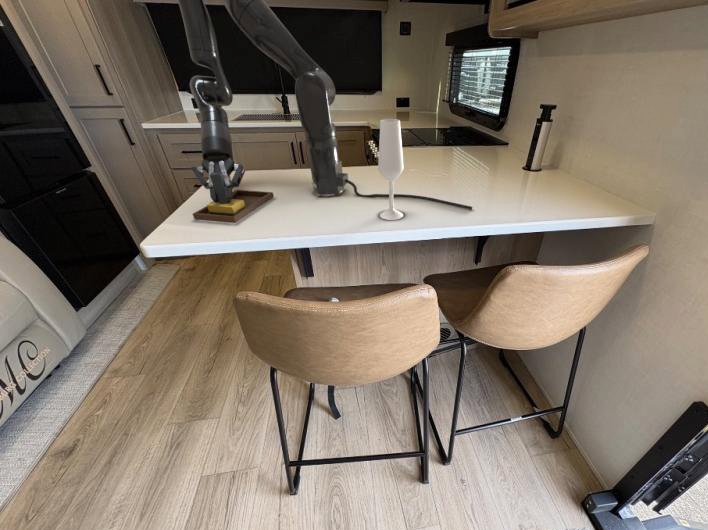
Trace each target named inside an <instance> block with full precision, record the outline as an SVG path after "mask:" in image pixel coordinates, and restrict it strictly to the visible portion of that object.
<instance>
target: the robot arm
mask: <svg viewBox="0 0 708 530" xmlns="http://www.w3.org/2000/svg"><path fill="white" fill-rule="evenodd" d="M221 1H222V4H223V5H224V7H225V9H226V11H227V13H228V14H229V16H230V17H231V19H232V20H233V22H234V23H235V24H236V25H237V27H238V28H239V29H240V30H241V32H242V33H243V34H244V36H246V37H247V38H248V39H249V41H250V42H251V43H252V44H253V45H254V46H255V47H256V48H257V49H259V51H261V52H262V53H264V54H265V55H266V56H268V57H269V58H270V59H272V60H273V61H274V62H276V63H277V64H279V66H281V67H282V68H284V69H285V70H286V71H287V72H288V73H289V74H290V75H291V77H293V79H294V80H295V82H294V83H295V84H294V93H295V95H294V96H295V101H296V107H297V112H298V116H299V121H300V125H301V127H302V129H303V131H304V135H305V142H306V143H305V144H306V148H307V155H308V162H309V167H310V174H311V180H312V182H311V186H312V187H313V194H314V195H317V196H319V197H335V196H336V197H338V196H340V195H341V194H342V193H343V192H344V191H345V187H346V185H347V184H349V185H350V186H352V187H353V192H354V194H355V195H356V196H357V197H359V198H361V197H362V198H389V193H373V194H372V193H371V194H361V193H359V192H358V187H357V185H356V184H355V183H354V182H352V181H351V180H349V174H348V173H347V172H343V163H342V160H340V156H339V147H338V146H339V145H338V138H337V128H336V125H335V124H334V122H333V120H332V119H331V114H330V113H331V112H330V106H331V105H333V103H334V102H335V99H336V87H335V84H334V82H333V80H332V77H330V76H329V74H327V72H325V70H324V69H323V68H322V67H320V66H319V64H318V63H316V61H315V60H314V59H312V58H311V57H310V56H309V54H308V53H307V52H306V51H305V50H304V49H303V48H302V47H301V46H300V44H299V43H298V41H297V40H296V39H295V37H293V35H292V33H290V31H289V30H288V29H287V27H285V25H284V24H283V23H282V22H281V20H280V19H279V18H278V17H277V14H275V13H274V11H273V10H272V9H271V8H270V7H269V5H268V4H267V3H266V2H265V1H264V0H221ZM177 4H178V6H179V10H180V13H181V17H182V21H183V25H184V30H185V35H186V40H187V45H188V49H189V55H190V59H191V60H192V62H193V64H195V65H198V66H200V67H204V68H208V69H209V70H211V71H212V72H213V74H214V77H213V76H206V75H193V77H191V79H190V81H189V89H190V92H191V94H192V97H193V99H194V101H195V103H196V106H197V108H198V113H199V119H200V142H201V144H200V145H201V153H202V162H201V165H199V166H197V167H196V166H192V167H191V171H192V172H193V173H194V175H195V177H196V178H197V179H198V181H199V183H200V184H201V185H202V186H203V187H204V189H206V190H209V195H210V199H211V200H212V202H213V201H214V202H215V203H219V201H218V198H217V195H216V192H215V189H214V186H213V184H212V181H211V178H210V174H211V173H212V172H222V174H223V178H224V182H225V197H226V200H227V201H228V202H231V200H232V199H233V195H232V192H233V189H234V188H239V187H240V185H241V182H242V180H243V178H244V175H245V173H246V169H245V167H244V165H243V164H242V163H239V164H237V163H235V161H234V154H233V143H232V137H231V133H230V126H229V116H228V113H227V111H226V109H224V108H223V107H228V106H230V105H232V103H233V99H234V95H233V91H232V89H231V86H230V83H229V81H228V79H227V77H226V74H225V71H224V68H223V66H222V62H221V57H220V54H219V48H218V43H217V36H216V32H215V28H214V25H213V21H212V19H211V16H210V14H209V11H208V8H207V7H206V4H205V2H204V0H177ZM204 171H205V172H206V173H207V174H208V182H207V180H206V179H205V177H204V175H205V173H204ZM233 172H234V175H233V177H232V179H231V175H232V173H233ZM393 198H405V199H416V200H417V199H418V200H423V201H424V200H425V201H429V202H435V203H438V204H444V205H448V206H453V207H457V208H461V209H466V210H470V211H471V210H473V206H470V205H466V204H462V203H457V202H452V201H447V200H444V199H439V198H435V197H429V196H423V195H416V194H405V193H404V194H402V193H393Z"/></svg>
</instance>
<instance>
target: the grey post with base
mask: <svg viewBox="0 0 708 530" xmlns="http://www.w3.org/2000/svg"><path fill="white" fill-rule="evenodd" d="M210 178H211V181H212V184H213V186H214V189H215V192H216V195H217V198H218V201H219V203H215V202H214V201H213V200H212V201H211V202H209V203H208V204H206V206H207V207H208V210H209V213H210V214H218V215H228V216H234V215H235V214H237V213H239V212H240V211H242V210H243V209H245V208H246V207H245V203H244V200H237V199H232V200H231V202H228V201H227V200H226V197H225V182H224V178H223V174H222V172H212V173H211V174H210Z"/></svg>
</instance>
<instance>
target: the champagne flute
mask: <svg viewBox="0 0 708 530" xmlns="http://www.w3.org/2000/svg"><path fill="white" fill-rule="evenodd" d="M401 129H402V128H401V120H400V119H395V118H386V119H385V118H384V119H380V122H379V143H378V161H377V162H378V163H377V169H378V171H379V173H380V175H381V176H382V177H383V178H384V179H386V180H387V181H388V194H389V197H388V205H389V206H388V207H389V208H388V209H386V210H385V211H383V212H381V213H380V215H379V217H380V218H381V219H383V220H387V221H395V220H400V219H402V218H403V217H404V214H403V213H402V212H400V211H398V210H397V209H395V207H394V206H395V205H394V203H395V202H394V197H393V194H394V181H395V180H397V179H398V178H399V177H400V176H401V174H402V173H403V171H404V154H403V142H402V130H401Z"/></svg>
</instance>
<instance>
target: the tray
mask: <svg viewBox="0 0 708 530" xmlns="http://www.w3.org/2000/svg"><path fill="white" fill-rule="evenodd" d="M232 195H233V199H237V200H244V203H245V207H246V208H245V209H243V210H242V211H240V212H239V213H237V214H235V215H234V216H228V215H218V214H210V213H209V210H208V207H207V205H206V206H204V207H202V208H200V209H199V210H196V211H195V212H193V213H192V216H193V219H194V220H198V221H199V220H200V221H208V222H221V223H232V224H236V223H238V222H239V221H241V220H242V219H244V218H245V217H247V216H249V215H250V214H251V213H253V212H254V211H255V210H257V209H258V208H260V207H261V206H263V205H265V204H266V203H267V202H269V201H271V200H272V199H274V198H275V195H274V192H273V191H261V190H247V189H235V190H234V191H232Z"/></svg>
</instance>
